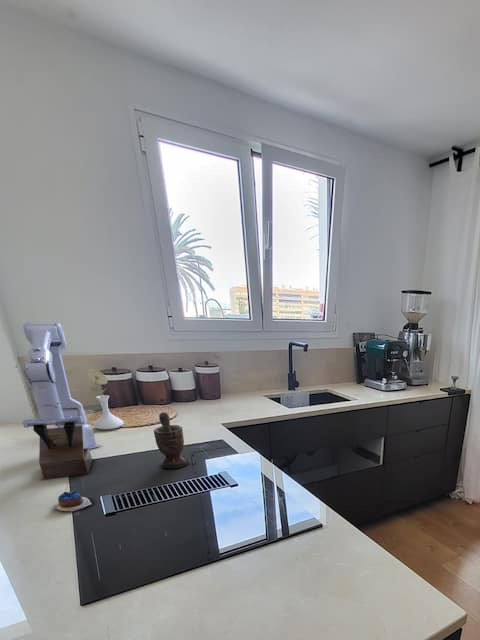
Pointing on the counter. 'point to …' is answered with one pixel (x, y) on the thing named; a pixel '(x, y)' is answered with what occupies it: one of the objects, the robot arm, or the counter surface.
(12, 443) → the counter surface
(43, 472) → the storage box
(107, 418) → the flower in vase
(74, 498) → the dessert
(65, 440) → the box lid
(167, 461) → the mortar and pestle
